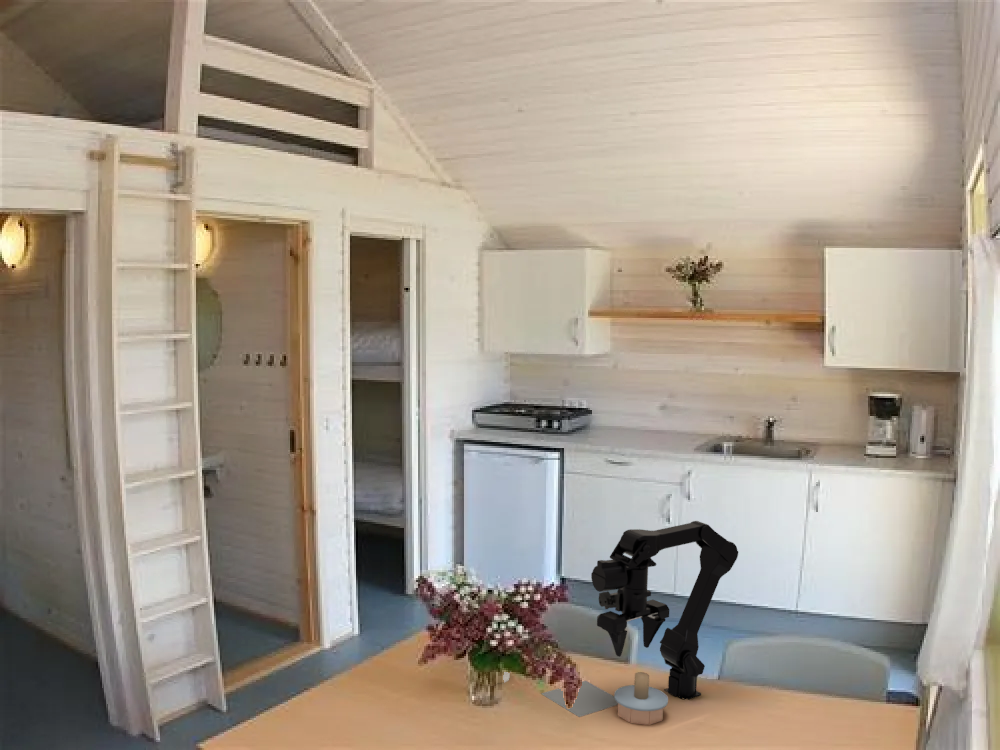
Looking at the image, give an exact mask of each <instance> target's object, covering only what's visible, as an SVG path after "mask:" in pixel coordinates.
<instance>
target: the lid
mask: <svg viewBox="0 0 1000 750" xmlns="http://www.w3.org/2000/svg"><path fill="white" fill-rule="evenodd" d="M633 684H634V685H633ZM633 684H630V685H624V686H621V687H619V688H617V689H616V690H615V691H614V694H613V696H614V698H615V700H616V701H617V702H618V703H619V704H620V705H622V706H624V707H627V708H630V709H633V710H639V711H655V710H659V709H662V708H663V709H664V708H665V707H667V706H668V703H669V696H668V695H667V694H666V693H664V692H663V691H662V690H660V689H658V688H656V687H652V686H650V674H649V673H647V672H643V671H637V672H635V673H634V683H633Z"/></svg>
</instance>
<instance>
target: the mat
mask: <svg viewBox="0 0 1000 750" xmlns="http://www.w3.org/2000/svg"><path fill="white" fill-rule="evenodd" d="M581 682H582V686H581V688H580V689H579V692H578V696H577V699H576V700H575V703H574V704H573V707H572V708H570V709H567V708H566V705H565V701H564V698H563V691H561V689H559V688H560V687H559V688H555V689H552V690H549V691H548V690H547V691H545V692H542V693H540V694H541V695H542V696H544V697H545V698H547V699H549V700H550V701H552V702H553V703H555V704H557V705H558V706H560V707H562V708H563V709H565V710H566V711H567V712H569V713H571V714H572V715H575V716H577V717H578V718H582V717H584V716H587V715H590V714H591V715H592V714H593V713H597V712H600V711H602V710H603V711H604V710H606V709H609V708H612V707H617V706H618V702H617V701H616V700H615V698H614V694H611V693H609V692H608V691H605V690H604V689H602V688H600V687H598V686H597V685H594V684H593V683H591V682H589V681H587V680H583V681H581Z"/></svg>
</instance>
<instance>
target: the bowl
mask: <svg viewBox="0 0 1000 750" xmlns="http://www.w3.org/2000/svg"><path fill="white" fill-rule="evenodd" d="M617 717H619V718H621V719H623V720H625V721H626V722H628V723H630V724H637V725H645V726H649V725H654V724H656V723H659V722H662V721H663V720H664V718H663V717H664V708H662V709H659V710H655V711H639V710H633V709H630V708H627V707H624V706H622V705H620V704H619V703H618V705H617Z"/></svg>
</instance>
